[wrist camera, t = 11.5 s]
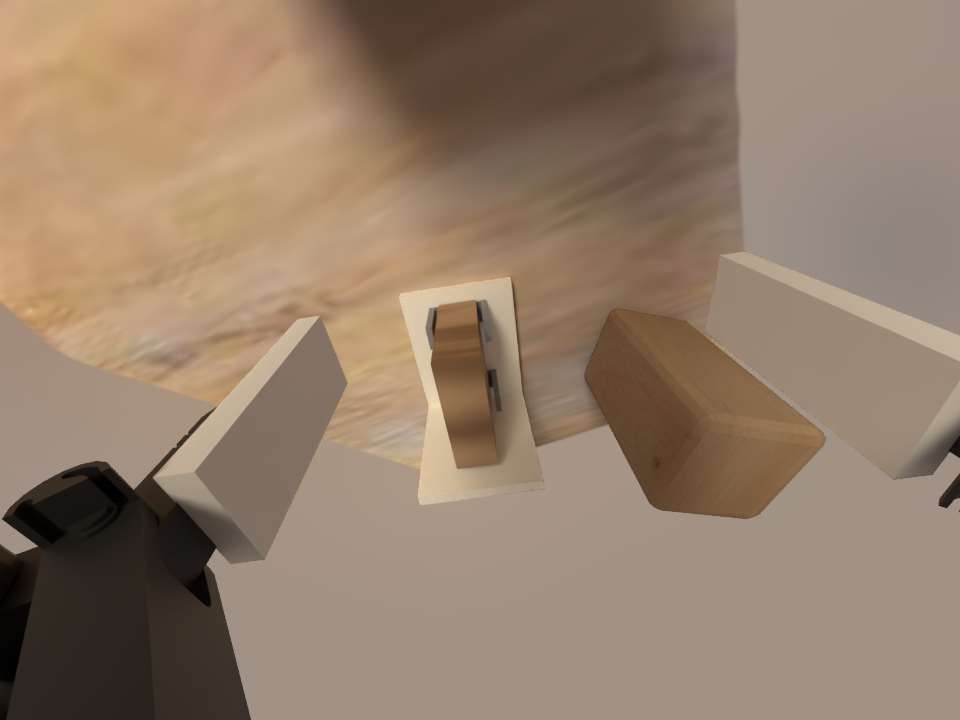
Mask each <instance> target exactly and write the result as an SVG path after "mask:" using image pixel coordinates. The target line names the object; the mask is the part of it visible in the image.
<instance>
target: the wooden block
mask: <svg viewBox="0 0 960 720" xmlns="http://www.w3.org/2000/svg"><path fill="white" fill-rule="evenodd" d="M585 380H586V382H587V384H588V386H589V388H590V390H591V391H592V393H593V395H594V397H595V399H596V401H597V403H598V405H599V407H600V409H601V411H602V413H603V415H604V416H605V418H606V420H607V422H608V424H609V426H610V428H611V430H612V432H613V434H614V436H615V438H616V440H617V441H618V443H619V445H620V447H621V449H622V451H623V453H624V455H625V457H626V459H627V461H628V463H629V465H630V467H631V469H632V470H633V472H634V474H635V476H636V478H637V480H638V482H639V484H640V486H641V488H642V489H643V492H644V494H645V495H646V497H647V499H648V501H649V503H650V504H651V505H652V506H653V507H655V508H657V509H659V510H663V511H672V512H683V513H692V514H703V515H712V516H722V517H732V518H742V519H748V518H752V517H755V516H757V515H759V514H760V513H761V512H762V511H763V510H764V509H765V508H766V507H767V505H768V504H769V503H770V502H771V501H772V500H773V499H774V498H775V497H776V496H777V495H778V494H779V492H781V490H782V489H783V488H784V487H785V486H786V485H787V484H788V483H789V482H790V481H791V480H792V479H793V478H794V477H795V476H796V474H797V473H798V472H799V471H800V470H801V469H802V468H803V467H804V466H805V465H806V464H807V463H808V462H809V461H810V460H811V458H812V457H813V456H814V455H815V454H816V453H817V452H818V451H819V450H820V449H821V448H822V447H823V446H824V443H825V440H826V437H825V435H824V433H823V432H822V431H821V430H820V429H819V428H817V427H816V426H815V425H814V424H812V423H811V422H810V421H809V420H807V419H806V418H805V417H804V416H803V415H801V414H800V413H799V412H797V411H796V410H795V409H794V408H793V407H791V406H790V405H789V404H788V403H786V402H785V401H784V400H782V399H781V398H780V397H779V396H778V395H776V394H775V393H774V392H773V391H772V390H770V389H769V388H768V387H766V386H765V385H764V384H763V383H762V382H760V381H759V380H758V379H757V378H755V377H754V376H753V375H752V374H750V373H749V372H748V371H747V370H745V369H744V368H743V367H742V366H740V365H739V364H738V363H737V362H736V361H734V360H733V359H732V358H731V357H729V356H728V355H727V354H726V353H724V352H723V351H722V350H721V349H719V348H718V347H717V346H716V345H714V344H713V343H712V342H711V341H709V340H708V339H707V338H706V337H704V336H703V335H702V334H701V333H700V332H698V331H697V330H696V329H695V328H693V327H692V326H691V325H690V324H688V323H687V322H686V321H681V320H676V319H670V318H665V317H660V316H654V315H649V314H643V313H638V312H633V311H627V310H622V309H616V310H613V311H612V312H611V313H610V314H609V317H608V319H607V322H606V324H605V326H604V329H603V331H602V333H601V336H600V338H599V341H598V343H597V345H596V348H595V350H594V352H593V355H592V357H591V360H590V362H589V364H588V367H587V369H586V371H585Z"/></svg>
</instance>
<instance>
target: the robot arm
mask: <svg viewBox="0 0 960 720" xmlns="http://www.w3.org/2000/svg"><path fill="white" fill-rule="evenodd" d="M705 332H706V333H707V334H708V335H710V336H711V337H712V338H714V339H715V340H716V341H717V342H719V343H720V344H721V345H722V346H724V347H725V348H726V349H728V350H729V351H730V352H731V353H733V354H734V355H735V356H736V357H738V358H739V359H740V360H742V361H743V362H744V363H745V364H747V365H748V366H749V367H750V368H752V369H753V370H754V371H756V372H757V373H758V374H759V375H761V376H762V377H763V378H764V379H766V380H767V381H768V382H770V383H771V384H772V385H773V386H775V387H776V388H777V389H778V390H780V391H781V392H782V393H784V394H785V395H786V396H787V397H789V398H790V399H791V400H793V401H794V402H795V403H797V404H798V405H799V406H800V407H801V408H803V409H804V410H805V411H807V412H808V413H809V414H810V415H812V416H813V417H814V418H815V419H817V420H818V421H819V422H821V423H822V424H823V425H824V426H826V427H827V428H828V429H830V430H831V431H832V432H833V433H835V434H836V435H837V436H838V437H840V438H841V439H842V440H844V441H845V442H846V443H847V444H849V445H850V446H851V447H852V448H854V449H855V450H856V451H857V452H859V453H860V454H861V455H863V456H864V457H865V458H867V459H868V460H869V461H870V462H871V463H873V464H874V465H875V466H877V467H878V468H879V469H880V470H882V471H883V472H884V473H885V474H887V475H888V476H889V477H891V478H892V479H893V480H894V479H903V478H910V477H918V476H926V475H933V473H934V472H935V471H936V469H937V468H938V467H939V465H940V464H941V463H942V461H943V460H944V459H945V457H946V456H947V454H948V453H949V452H951V453H953V454H954V455H956V456H957V457H959V458H960V336H959V335H956V334H954V333H951V332H949V331H946V330H944V329H941V328H938V327H936V326H934V325H931V324H929V323H926V322H923V321H921V320H918V319H916V318H913V317H911V316H908V315H905V314H903V313H900V312H898V311H895V310H893V309H890V308H888V307H885V306H882V305H880V304H877V303H875V302H872V301H869V300H867V299H865V298H862V297H859V296H857V295H854V294H852V293H849V292H847V291H844V290H842V289H839V288H837V287H834V286H831V285H829V284H826V283H824V282H821V281H819V280H816V279H814V278H811V277H808V276H806V275H803V274H801V273H798V272H795V271H793V270H790V269H788V268H785V267H782V266H780V265H778V264H775V263H773V262H770V261H768V260H765V259H763V258H760V257H757V256H755V255H752V254H750V253H747V252H738V253H732V254H725V255H720V259H719V264H718V269H717V274H716V279H715V284H714V289H713V293H712V298H711V303H710V308H709V313H708V318H707V323H706V327H705ZM346 385H347V380H346V378H345V375H344V373H343V370H342V368H341V365H340V363H339V360H338V358H337V356H336V353H335V351H334V348H333V346H332V343H331V341H330V338H329V336H328V333H327V331H326V329H325V326H324V324H323V321H322V319H321V316H315V317H308V318H302V319H297V321H296V322H295V323H294V324H293V325H292V326H291V327H290V328H289V329H288V330H287V331H286V333H285V334H284V335H283V336H282V337H281V338H280V339H279V340H278V341H277V342H276V344H275V345H274V346H273V347H272V348H271V349H270V350H269V351H268V352H267V353H266V354H265V356H264V357H263V358H262V359H261V360H260V361H259V362H258V363H257V364H256V365H255V366H254V368H253V369H252V370H251V371H250V372H249V373H248V374H247V375H246V376H245V377H244V378H243V380H242V381H241V382H240V383H239V384H238V385H237V386H236V387H235V388H234V389H233V390H232V392H231V393H230V394H229V395H228V396H227V397H226V398H225V399H224V400H223V401H222V402H221V404H220V405H219V406H217V407H216V408H214V409H213V410H212V411H210V412H209V413H207V414H206V415H205V416H203V417H202V418H201V419H200V420H199V421H198V422H197V423H196V424H195V425H194V427H192V428H191V430H190V431H189V432H188V435H185V436H184V437H183V438H182V439H181V440H180V441H179V442H178V443H177V447H176V448H173V449H172V450H171V451H170V452H169V453H168V454H167V455H166V456H165V457H164V458H163V459H162V461H161V462H160V463H159V464H158V465H157V466H156V467H155V468H154V469H153V470H152V471H151V472H150V474H148V475H147V476H146V478H145V479H144V480H143V481H142V482H141V483H140V484H139V485H138V486H137V487H136V488H135V489H134V490H133V489H132V488H131V487H130V486H129V485H128V484H127V483H126V481H124V479H123V478H122V477H121V476H120V475H119V474H118V473H117V472H116V471H115V470H114V469H113V468H112V467H111V466H110V465H109V464H108V463H107V462H101V461H95V462H90V463H85V464H81V465H78V466H76V467H73V468H71V469H68V470H66V471H63V472H61V473H59V474H57V475H55V476H53V477H51V478H50V479H48V480H46V481H44V482H42V483H41V484H39V485H38V486H36V487H35V488H33V489H32V490H30V491H29V492H27V493H26V494H25V495H23V496H22V497H21V498H20V499H19V500H18V501H17V502H15V503H14V504H13V505H12V506H11V507H10V508H9V509H8V511H7V512H6V514H5V515H4V517H3V518H2V520H4V521H5V522H7V523H8V524H9V525H10V526H12V527H13V528H15V529H16V530H17V531H19V532H20V533H21V534H23V535H24V536H25V537H27V538H28V539H29V540H31V541H32V542H33V543H35V544H36V545H37V546H38V547H36V548H33V549H30V550H28V551H25V552H22V553H19V554H16V555H15V554H13V553H12V552H10V551H9V550H8V549H6V548H5V547H3V546H2V545H0V720H251V718H250V715H249V710H248V706H247V702H246V698H245V694H244V690H243V686H242V682H241V678H240V674H239V670H238V666H237V662H236V659H235V654H234V650H233V647H232V642H231V639H230V635H229V631H228V627H227V623H226V619H225V615H224V611H223V607H222V603H221V599H220V595H219V591H218V587H217V583H216V579H215V575H214V573H213V572H212V571H211V569H210V568H209V567H208V566H207V565H206V564H207V562H208V561H209V559H210V557H211V556H212V554H213V552H214V550H215V549H217V550H218V551H219V552H220V553H221V554H222V555H223V556H224V557H225V558H226V560H227V561H228V562H229V563H230V564H234V563H241V562H249V561H258V560H265V558H266V556H267V554H268V551H269V549H270V547H271V545H272V543H273V541H274V539H275V537H276V534H277V532H278V530H279V528H280V526H281V524H282V522H283V520H284V518H285V515H286V513H287V511H288V509H289V507H290V505H291V503H292V500H293V498H294V496H295V494H296V492H297V490H298V488H299V485H300V483H301V481H302V479H303V477H304V475H305V473H306V471H307V469H308V466H309V464H310V462H311V460H312V458H313V456H314V454H315V451H316V449H317V447H318V445H319V443H320V441H321V439H322V437H323V434H324V432H325V430H326V428H327V426H328V424H329V422H330V420H331V417H332V415H333V413H334V411H335V409H336V407H337V405H338V402H339V400H340V398H341V396H342V394H343V392H344V390H345V388H346ZM957 498H960V474H959V475H958V476H957V477H956V479H955V480H954V481H953V482H952V484H951V485H950V486H949V487H948V489H947V490H946V491H945V493H944V494H943V495H942V496H941V498H940V500H939V506H941V507H945V508H947V507H948V506H949V505H950V504H951V503H952V502H953V500H954V499H957ZM959 512H960V511H959Z"/></svg>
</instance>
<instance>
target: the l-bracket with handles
mask: <svg viewBox="0 0 960 720" xmlns="http://www.w3.org/2000/svg"><path fill="white" fill-rule="evenodd" d="M399 299H400V303H401V307H402V310H403V314H404V318H405V321H406V325H407V329H408V332H409V336H410V339H411V343H412V347H413V350H414V354H415V358H416V361H417V365H418V369H419V372H420V376H421V379H422V383H423V387H424V390H425V394H426V398H427V401H428V405H429V408H428V417H427V425H426V433H425V441H424V449H423V457H422V465H421V474H420V482H419V490H418V500H419V503H420V505H426V504H434V503H442V502H450V501H457V500H464V499H473V498H480V497H487V496H496V495H503V494H511V493H518V492H526V491H534V490H541V489H544V480H543V476H542V472H541V468H540V464H539V460H538V455H537V451H536V447H535V443H534V439H533V434H532V430H531V426H530V422H529V418H528V414H527V410H526V406H525V401H524V397H523V393H522V384H521V374H520V364H519V354H518V344H517V334H516V324H515V314H514V304H513V294H512V284H511V279H510V277H505V278H499V279H492V280H486V281H479V282H472V283H466V284H459V285H453V286H446V287H440V288H433V289H426V290H420V291H413V292H407V293H401V294H400V296H399ZM470 300H476V305H477V311H478V318H479V324H480V330H481V337H482V343H483V349H484V356H485V362H486V368H487V375H488V381H489V387H490V395H491V404H492V413H493V422H494V430H495V439H496V448H497V457H498V464H492V465H485V466H477V467H470V468H462V469H457V467H456V463H455V460H454V456H453V452H452V448H451V444H450V440H449V436H448V432H447V428H446V424H445V420H444V416H443V412H442V408H441V404H440V400H439V396H438V392H437V388H436V384H435V380H434V376H433V372H432V368H431V365H430V364H431V357H432V350H433V343H434V335H435V328H436V321H437V314H438V306H439V305H443V304H450V303H456V302H463V301H470Z"/></svg>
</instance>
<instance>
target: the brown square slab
mask: <svg viewBox="0 0 960 720" xmlns="http://www.w3.org/2000/svg"><path fill="white" fill-rule="evenodd" d="M430 365H431V368H432V372H433V376H434V380H435V384H436V388H437V392H438V396H439V400H440V404H441V408H442V412H443V416H444V420H445V424H446V428H447V432H448V436H449V440H450V444H451V448H452V452H453V456H454V460H455V463H456V467H457V469H462V468H470V467H477V466H485V465H492V464H498V457H497V448H496V439H495V430H494V422H493V413H492V404H491V395H490V387H489V381H488V375H487V368H486V362H485V356H484V349H483V343H482V337H481V330H480V324H479V318H478V311H477V305H476V300H470V301H463V302H456V303H450V304H443V305H439V306H438V314H437V321H436V328H435V335H434V343H433V350H432V357H431V364H430Z"/></svg>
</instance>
